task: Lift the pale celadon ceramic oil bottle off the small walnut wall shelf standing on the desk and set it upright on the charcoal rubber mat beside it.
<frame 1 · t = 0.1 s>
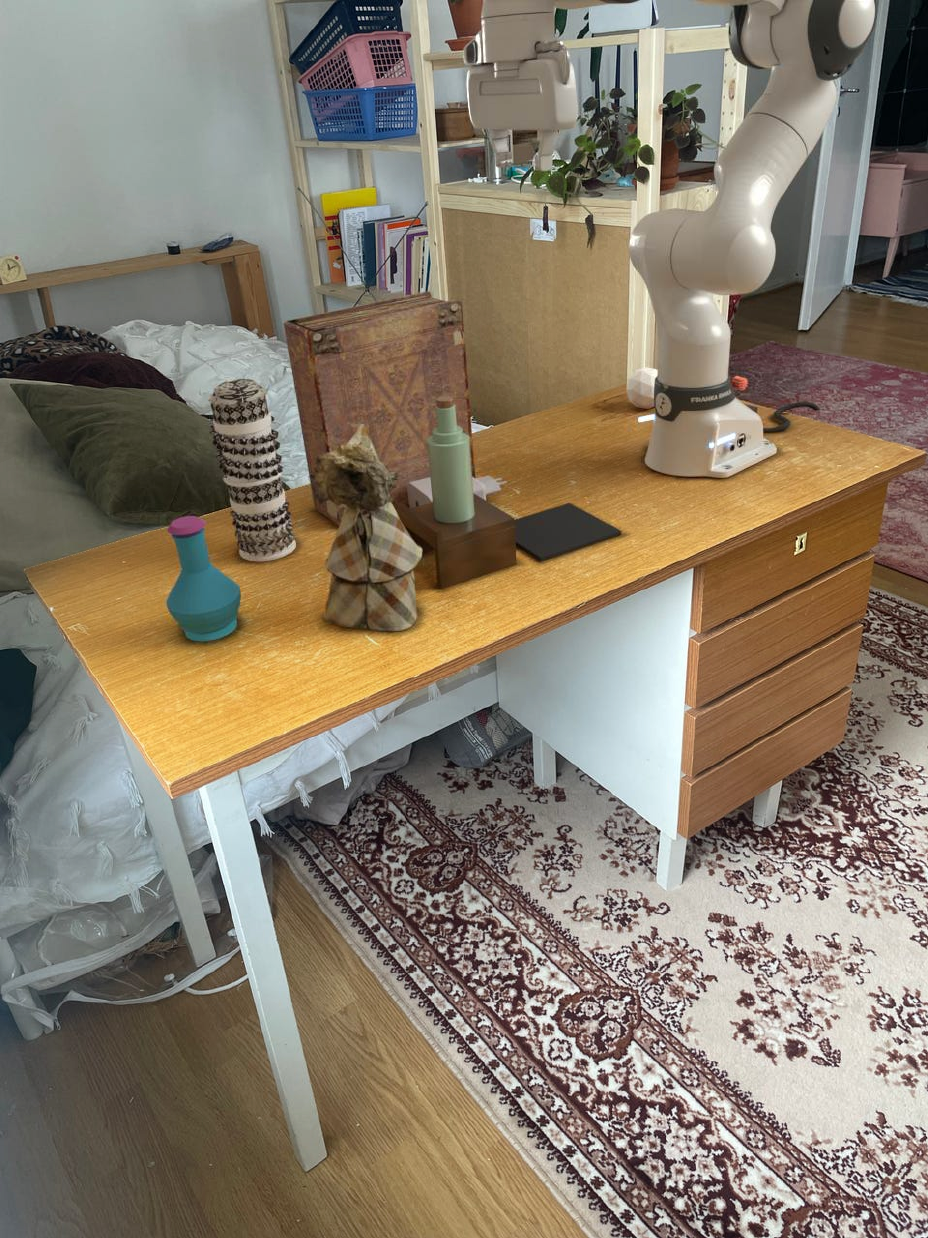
hand: (523, 168, 122), 48 cm above the table, tool pointing down, fingers open, 8 cm apart
bottle: (454, 514, 129), point 7 cm above the table, touching shelf
geometric ball: (645, 407, 184), on the table
plush toy: (384, 613, 122), on the table
shelf: (458, 560, 133), on the table
perfume bottle: (211, 629, 121), on the table
decorative candle: (267, 549, 141), on the table
book: (396, 498, 154), on the table
mat: (556, 532, 138), on the table
charger: (463, 507, 149), on the table
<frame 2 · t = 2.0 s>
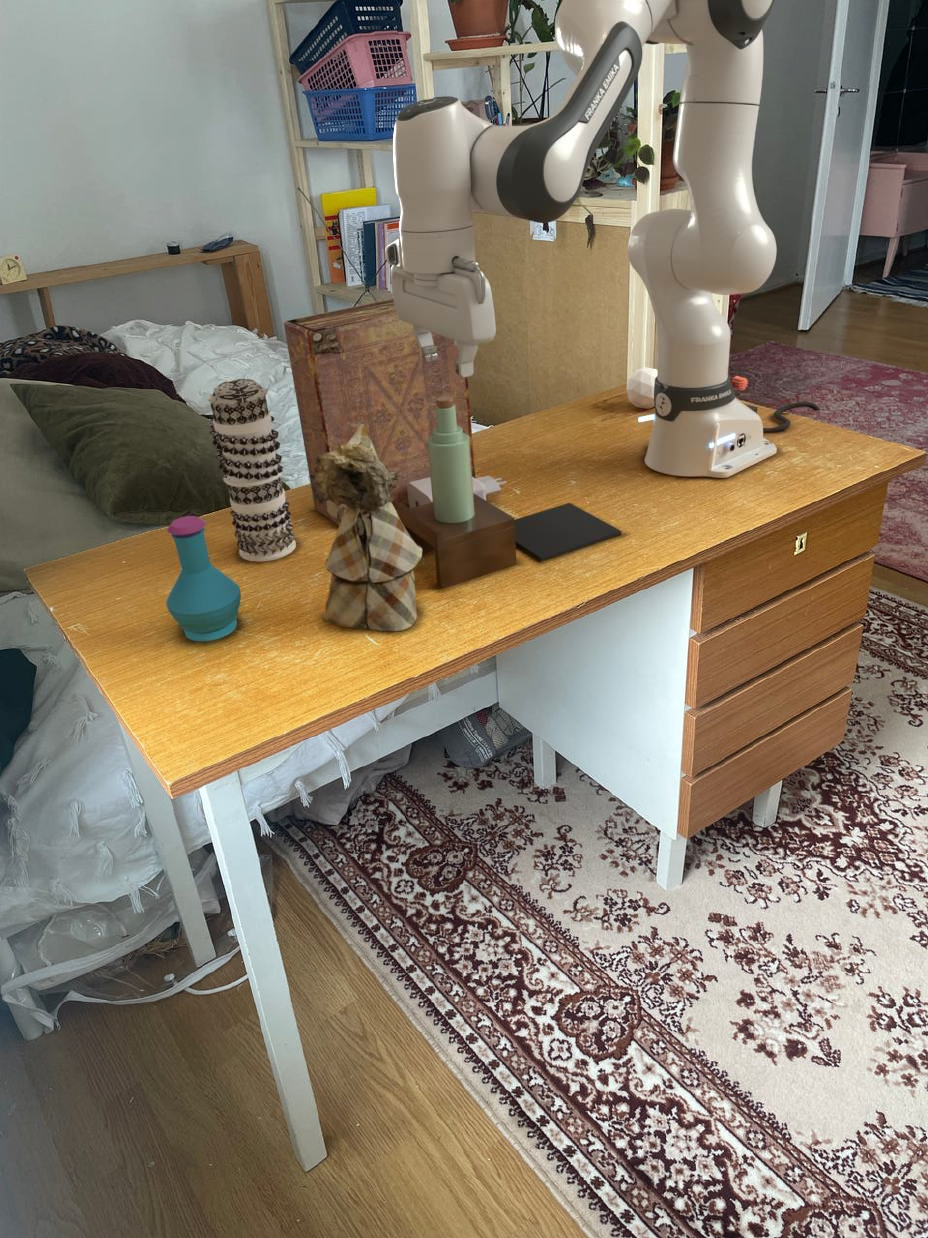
hand: (446, 367, 120), 27 cm above the table, tool pointing down, fingers open, 8 cm apart
nothing on the table moved.
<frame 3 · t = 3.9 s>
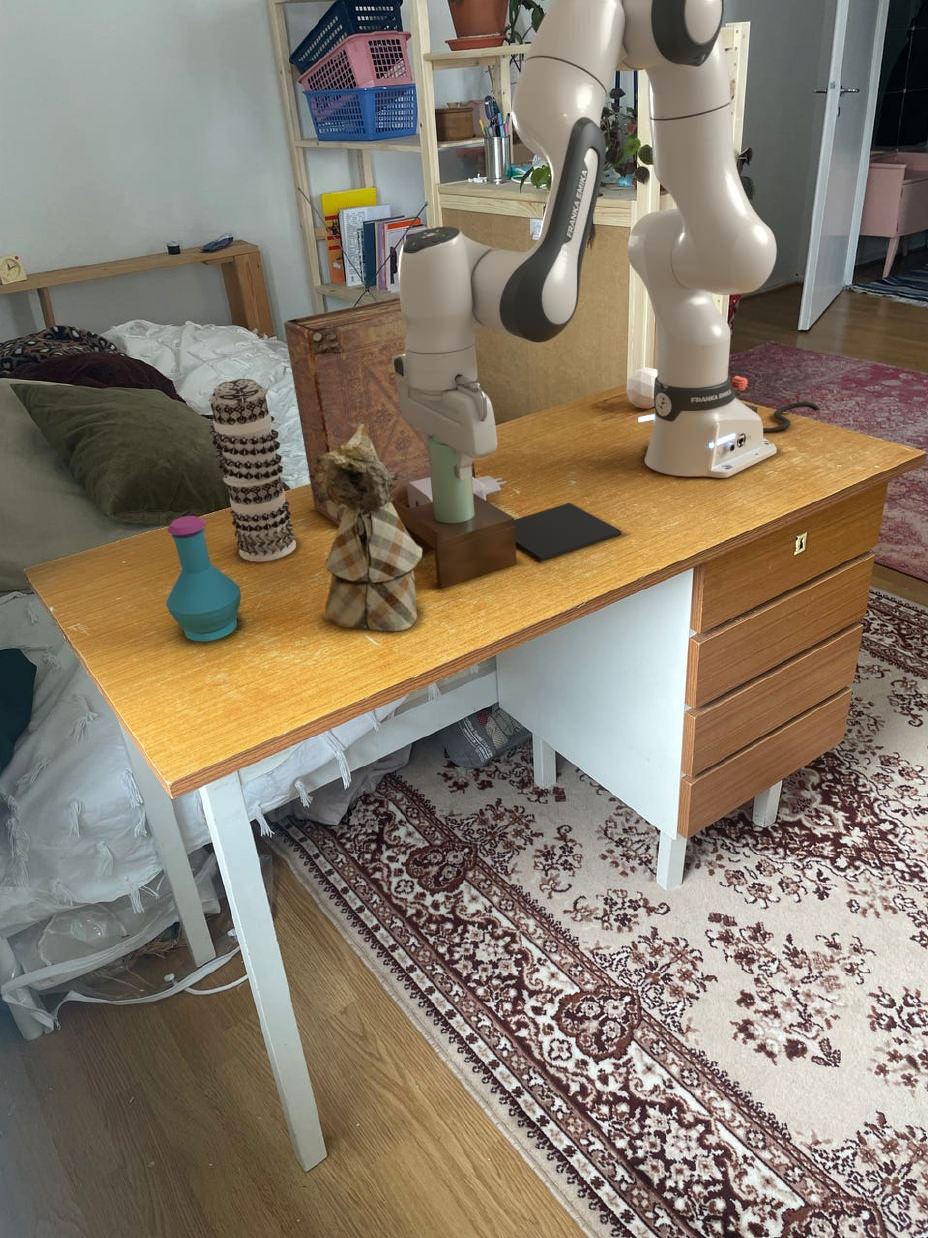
hand: (450, 470, 126), 14 cm above the table, tool pointing down, fingers closed on bottle, 5 cm apart
bottle: (454, 514, 129), point 7 cm above the table, touching gripper, shelf
everything else where it was.
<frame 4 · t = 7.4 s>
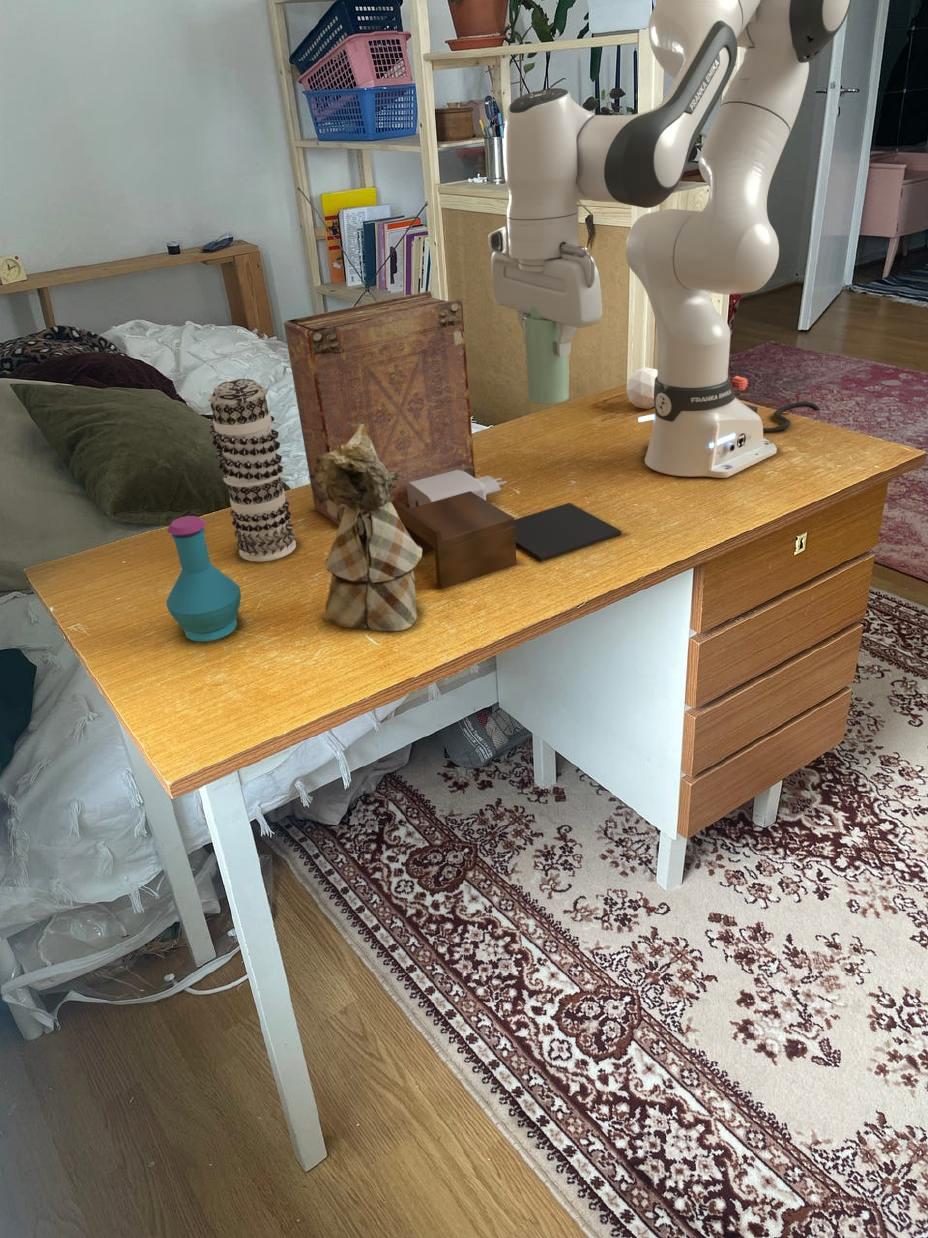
hand: (547, 349, 125), 27 cm above the table, tool pointing down, fingers closed on bottle, 5 cm apart
bottle: (548, 397, 128), point 20 cm above the table, touching gripper
everything else where it was.
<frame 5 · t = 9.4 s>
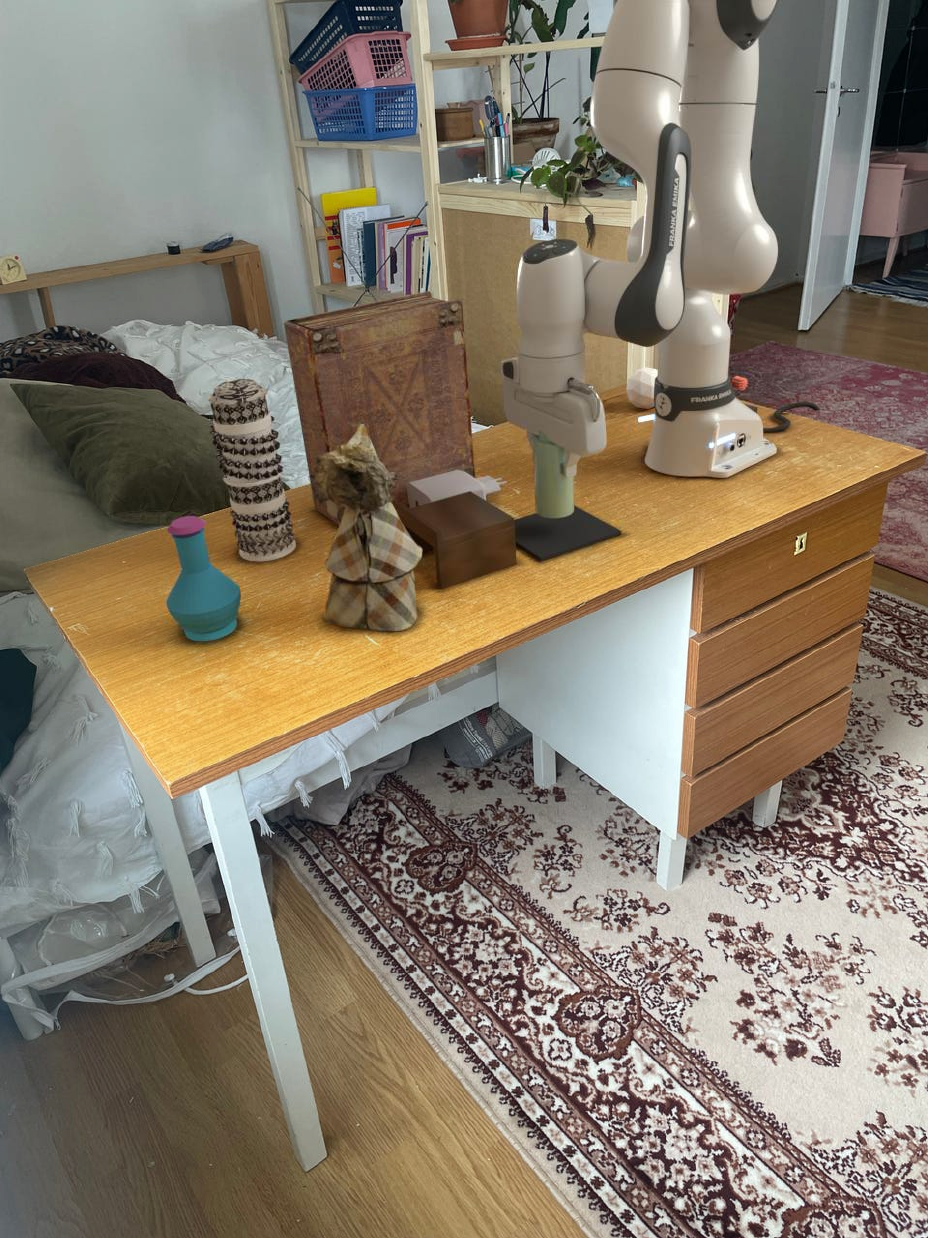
hand: (554, 468, 133), 10 cm above the table, tool pointing down, fingers closed on bottle, 5 cm apart
bottle: (554, 510, 137), point 4 cm above the table, touching gripper
everything else where it was.
when the fingers open (7 cm above the table, at t = 10.9 s): bottle stays where it is, resting on mat.
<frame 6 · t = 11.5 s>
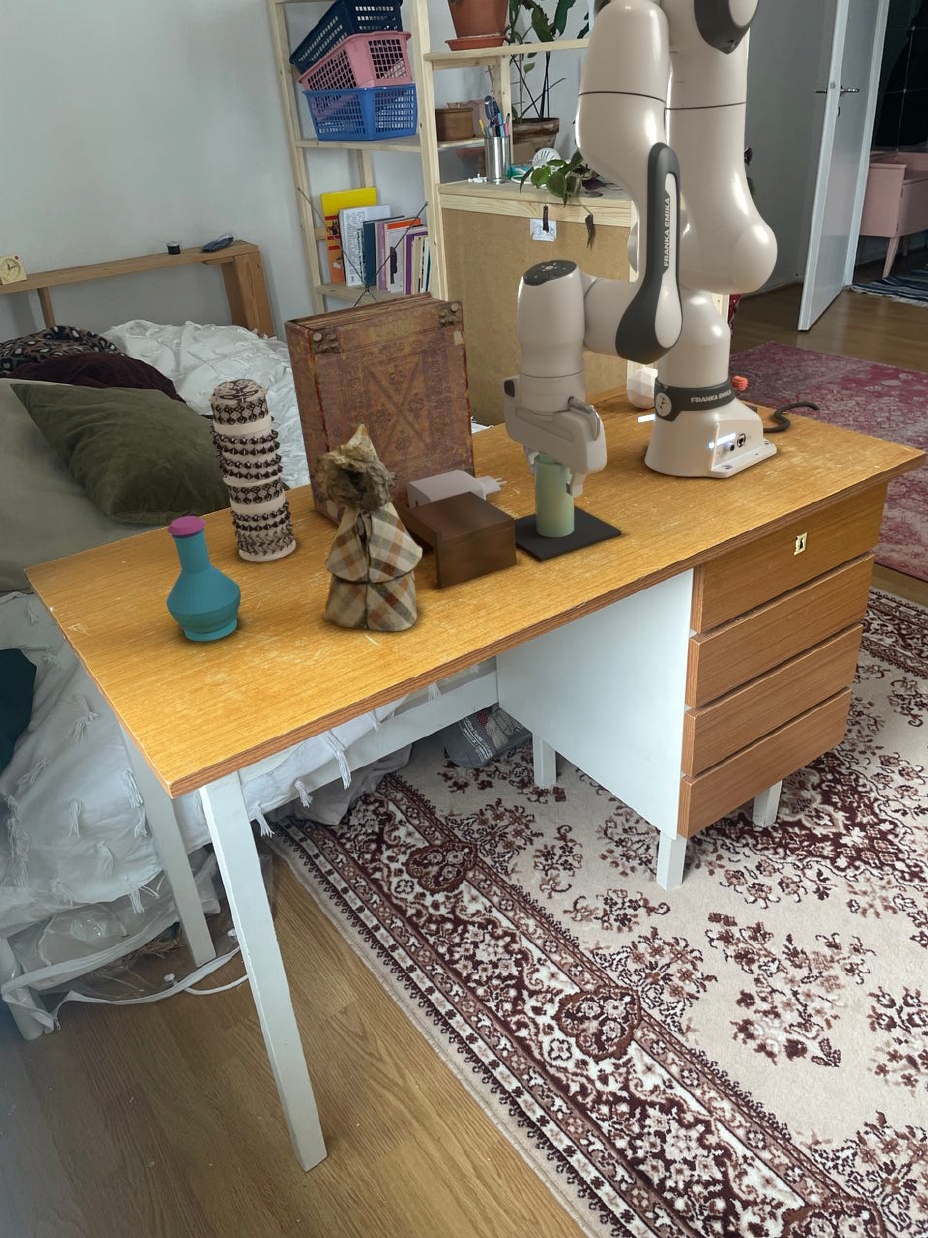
hand: (555, 484, 135), 8 cm above the table, tool pointing down, fingers open, 8 cm apart
bottle: (555, 529, 138), point 1 cm above the table, touching mat
everything else where it was.
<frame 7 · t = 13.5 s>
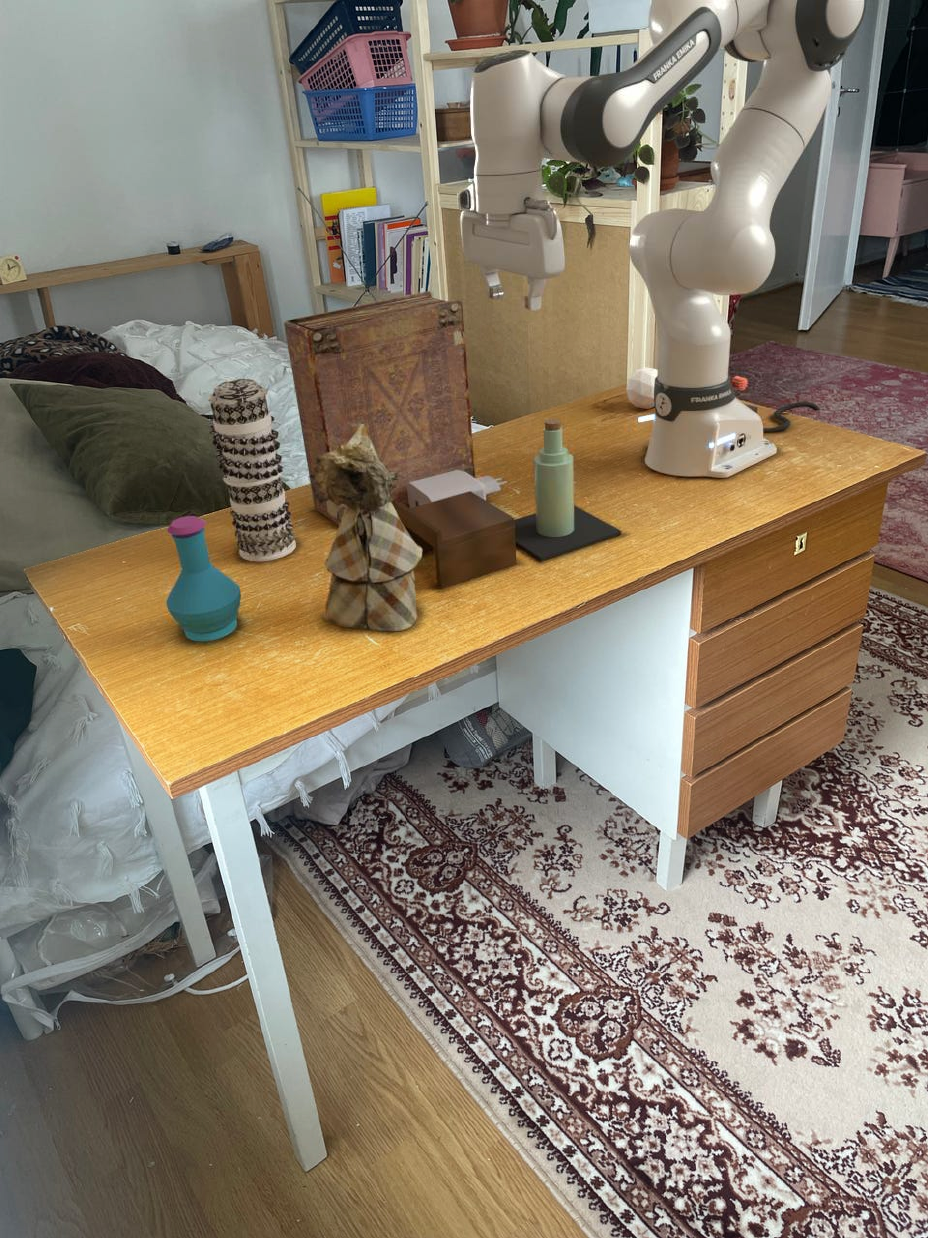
hand: (514, 303, 131), 31 cm above the table, tool pointing down, fingers open, 8 cm apart
nothing on the table moved.
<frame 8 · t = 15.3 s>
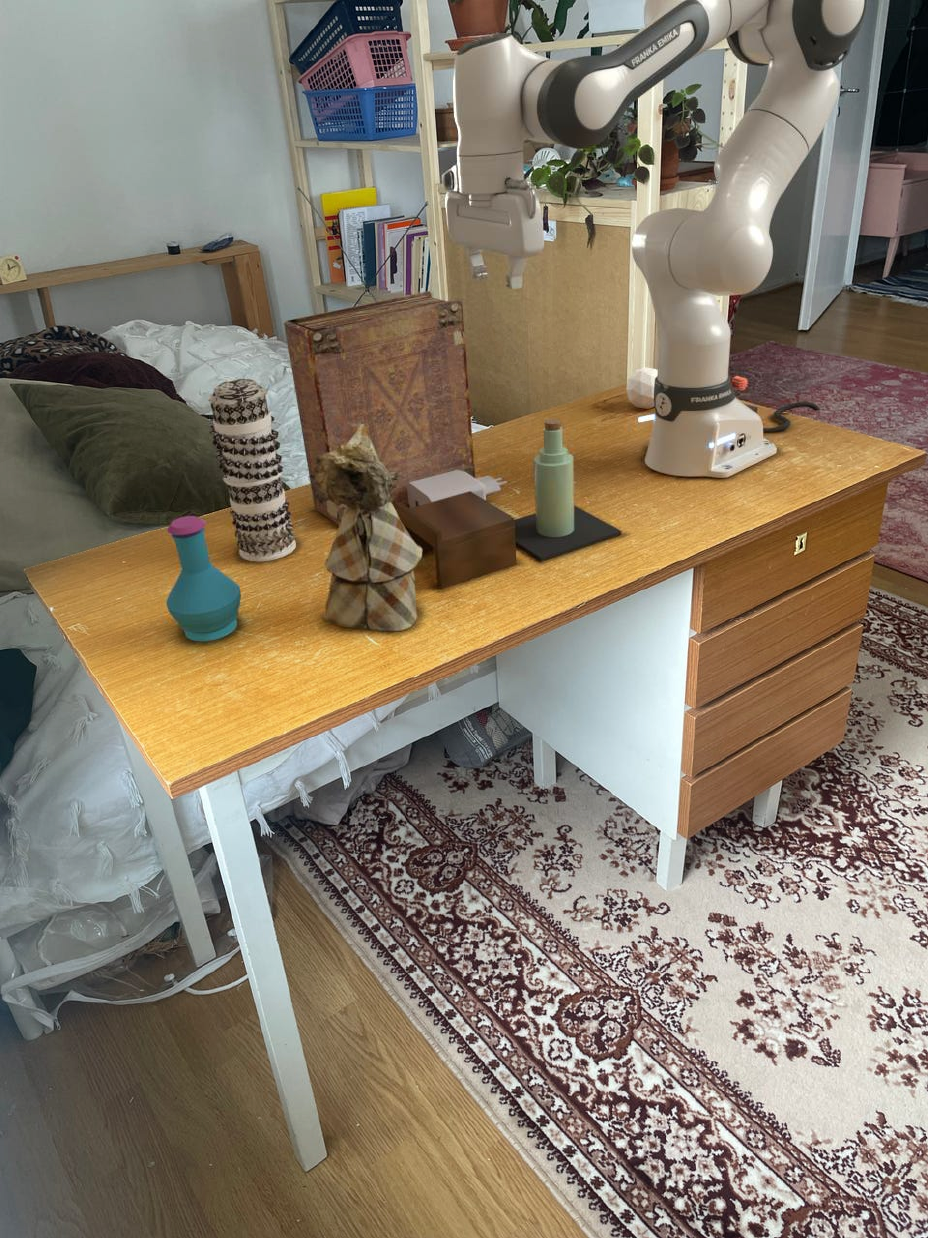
hand: (496, 283, 134), 33 cm above the table, tool pointing down, fingers open, 8 cm apart
nothing on the table moved.
at the end: bottle inside the target area on the mat (0.1 cm from its centre), point 0.6 cm above the mat's base; bottle tilted 0°; the gripper is holding nothing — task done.
